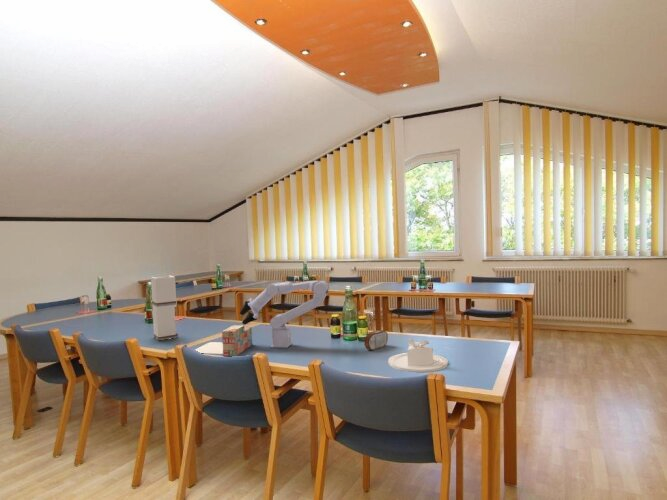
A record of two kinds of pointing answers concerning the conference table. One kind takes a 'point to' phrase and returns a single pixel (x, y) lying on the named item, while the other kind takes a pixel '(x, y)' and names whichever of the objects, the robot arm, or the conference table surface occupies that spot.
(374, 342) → the slice of bread
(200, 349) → the mat
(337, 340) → the conference table surface
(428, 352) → the dish
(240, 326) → the printed cardboard box
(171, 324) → the white mini fridge
